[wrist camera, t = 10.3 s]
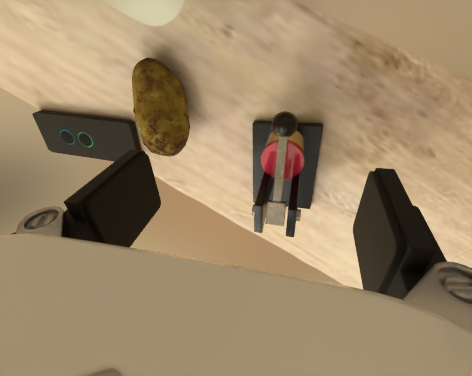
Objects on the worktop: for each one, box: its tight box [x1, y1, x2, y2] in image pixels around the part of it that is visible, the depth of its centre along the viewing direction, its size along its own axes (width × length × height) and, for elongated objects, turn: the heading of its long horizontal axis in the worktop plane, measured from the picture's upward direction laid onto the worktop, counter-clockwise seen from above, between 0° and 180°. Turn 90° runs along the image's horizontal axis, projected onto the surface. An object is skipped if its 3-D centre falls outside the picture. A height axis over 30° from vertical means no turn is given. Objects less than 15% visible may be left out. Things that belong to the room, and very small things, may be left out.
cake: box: [261, 130, 304, 180], centre depth 36 cm, size 6×6×5 cm
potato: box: [132, 58, 190, 156], centre depth 37 cm, size 8×13×8 cm, turn 177°
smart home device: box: [33, 110, 141, 161], centre depth 47 cm, size 8×2×20 cm
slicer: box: [252, 121, 323, 237], centre depth 36 cm, size 15×10×14 cm, turn 3°
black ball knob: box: [266, 112, 298, 226], centre depth 32 cm, size 14×3×3 cm
